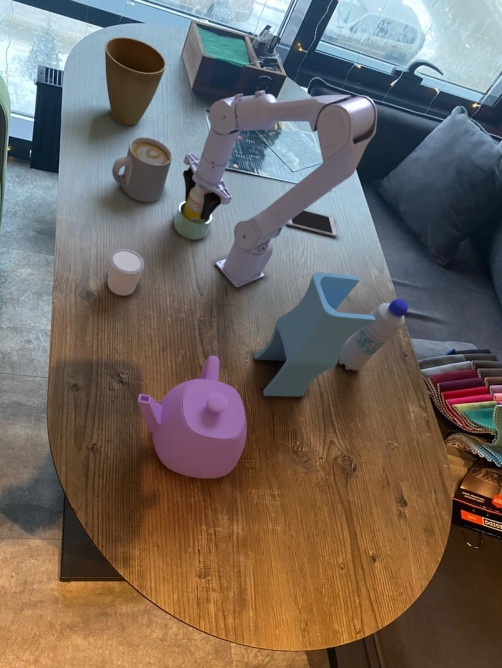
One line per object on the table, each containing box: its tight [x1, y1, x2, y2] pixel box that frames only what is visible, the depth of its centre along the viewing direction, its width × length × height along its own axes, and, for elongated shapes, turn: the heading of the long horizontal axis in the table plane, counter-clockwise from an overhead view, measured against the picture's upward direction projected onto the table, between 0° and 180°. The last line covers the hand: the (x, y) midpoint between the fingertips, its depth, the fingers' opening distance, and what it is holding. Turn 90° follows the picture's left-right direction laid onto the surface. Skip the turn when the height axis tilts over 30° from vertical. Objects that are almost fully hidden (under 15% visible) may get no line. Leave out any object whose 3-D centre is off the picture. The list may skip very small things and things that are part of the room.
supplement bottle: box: [183, 183, 212, 223], centre depth 115 cm, size 5×5×10 cm
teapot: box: [137, 355, 248, 480], centre depth 85 cm, size 20×20×15 cm
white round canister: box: [107, 248, 145, 296], centre depth 102 cm, size 7×7×7 cm
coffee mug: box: [111, 136, 173, 203], centre depth 118 cm, size 13×10×10 cm
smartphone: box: [286, 209, 338, 237], centre depth 136 cm, size 8×1×15 cm
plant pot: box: [104, 36, 167, 126], centre depth 129 cm, size 15×15×16 cm
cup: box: [173, 200, 213, 241], centre depth 119 cm, size 8×8×4 cm
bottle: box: [338, 298, 409, 372], centre depth 105 cm, size 7×7×20 cm
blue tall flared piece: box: [253, 271, 376, 397], centre depth 95 cm, size 10×10×25 cm
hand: (196, 209), depth 117 cm, fingers closed on supplement bottle, 5 cm apart
